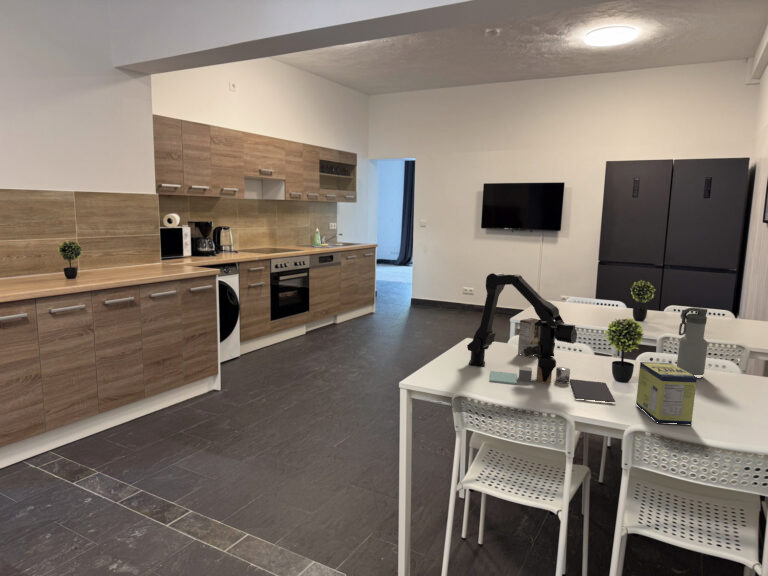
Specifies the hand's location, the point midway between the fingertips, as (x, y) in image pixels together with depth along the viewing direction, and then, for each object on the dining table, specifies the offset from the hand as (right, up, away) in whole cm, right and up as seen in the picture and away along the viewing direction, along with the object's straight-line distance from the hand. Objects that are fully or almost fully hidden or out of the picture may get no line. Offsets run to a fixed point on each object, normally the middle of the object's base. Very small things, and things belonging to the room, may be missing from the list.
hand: (543, 378), depth 193 cm
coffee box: (+5, +4, +38) cm, 38 cm away
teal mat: (-15, 0, +2) cm, 15 cm away
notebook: (+14, -4, -11) cm, 18 cm away
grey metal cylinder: (+7, -1, 0) cm, 7 cm away
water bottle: (+64, -1, +14) cm, 65 cm away
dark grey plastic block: (-7, -1, +1) cm, 7 cm away
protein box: (+28, -7, -31) cm, 42 cm away
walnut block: (0, -1, 0) cm, 1 cm away
